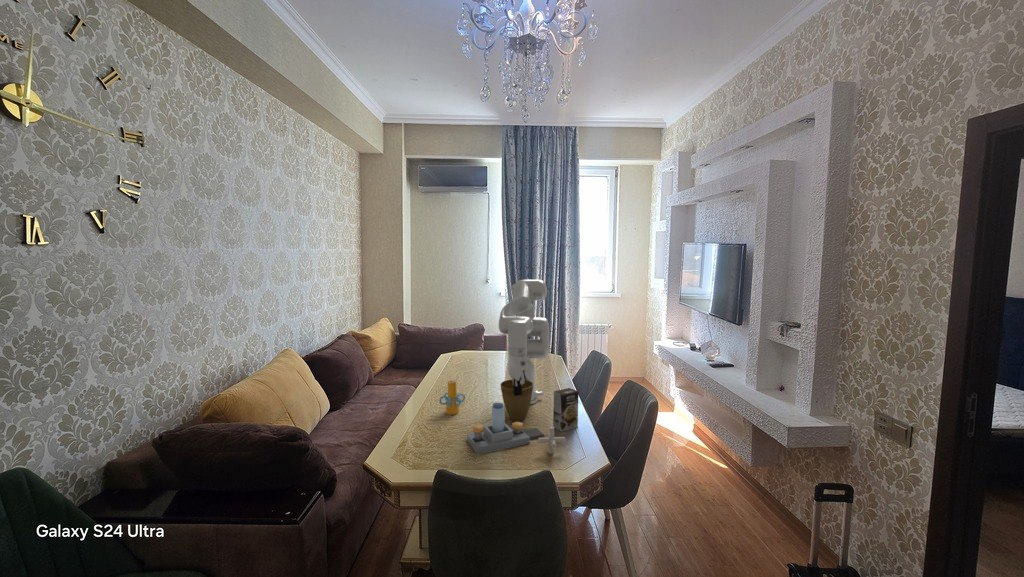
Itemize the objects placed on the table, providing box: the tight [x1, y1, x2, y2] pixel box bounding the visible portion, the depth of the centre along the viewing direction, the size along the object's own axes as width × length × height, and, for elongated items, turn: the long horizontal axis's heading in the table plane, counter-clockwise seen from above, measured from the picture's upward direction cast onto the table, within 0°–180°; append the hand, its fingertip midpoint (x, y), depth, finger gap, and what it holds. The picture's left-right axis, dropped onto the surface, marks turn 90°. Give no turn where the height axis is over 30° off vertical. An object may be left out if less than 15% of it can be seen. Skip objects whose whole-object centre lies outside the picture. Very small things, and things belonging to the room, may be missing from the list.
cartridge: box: [491, 402, 505, 433], centre depth 175 cm, size 5×5×13 cm
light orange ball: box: [511, 421, 524, 435], centre depth 179 cm, size 4×4×4 cm
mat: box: [521, 427, 545, 440], centre depth 182 cm, size 7×7×1 cm
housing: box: [466, 422, 531, 455], centre depth 175 cm, size 22×13×6 cm, turn 114°
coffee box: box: [552, 387, 579, 432], centre depth 189 cm, size 9×6×16 cm
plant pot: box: [500, 378, 533, 422], centre depth 199 cm, size 15×15×16 cm
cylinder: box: [439, 379, 466, 416], centre depth 205 cm, size 12×10×15 cm
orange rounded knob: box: [471, 424, 485, 439], centre depth 171 cm, size 4×4×4 cm
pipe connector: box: [537, 426, 566, 455], centre depth 166 cm, size 10×10×10 cm
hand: (517, 394), depth 177 cm, fingers closed
